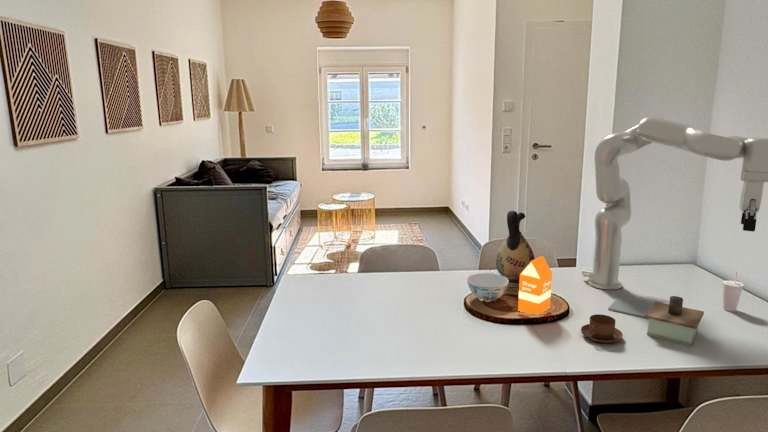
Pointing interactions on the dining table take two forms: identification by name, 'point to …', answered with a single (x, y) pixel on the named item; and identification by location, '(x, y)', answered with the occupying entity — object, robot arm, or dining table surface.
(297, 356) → the dining table surface
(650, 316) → the lid
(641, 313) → the mat
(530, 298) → the orange juice
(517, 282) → the ceramic jug
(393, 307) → the dining table surface
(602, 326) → the cup and saucer
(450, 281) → the dining table surface
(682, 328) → the dish
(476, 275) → the chinaware
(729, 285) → the smoothie
